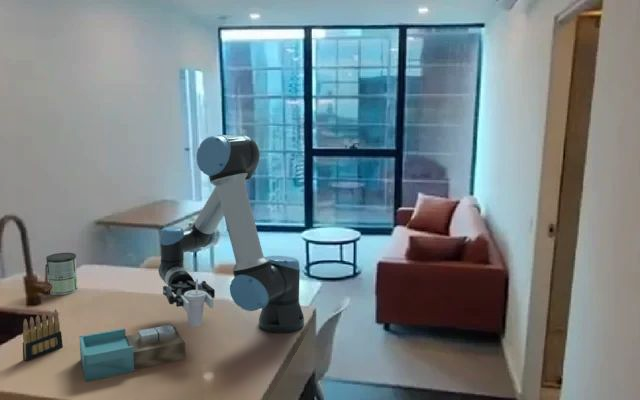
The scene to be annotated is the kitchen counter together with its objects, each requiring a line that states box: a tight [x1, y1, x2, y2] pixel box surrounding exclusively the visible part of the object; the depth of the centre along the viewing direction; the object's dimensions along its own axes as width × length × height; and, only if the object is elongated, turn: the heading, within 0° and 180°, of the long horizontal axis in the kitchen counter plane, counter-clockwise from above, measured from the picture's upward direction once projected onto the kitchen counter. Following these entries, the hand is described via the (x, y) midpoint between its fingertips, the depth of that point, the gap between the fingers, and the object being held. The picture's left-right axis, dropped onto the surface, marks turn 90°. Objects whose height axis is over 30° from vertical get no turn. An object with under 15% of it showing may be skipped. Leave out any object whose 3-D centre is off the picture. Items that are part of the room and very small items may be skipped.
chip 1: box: [138, 327, 158, 345], centre depth 143 cm, size 4×4×2 cm
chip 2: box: [155, 324, 176, 341], centre depth 146 cm, size 4×4×2 cm
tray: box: [78, 328, 135, 383], centre depth 138 cm, size 12×14×7 cm
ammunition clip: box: [22, 308, 64, 362], centre depth 144 cm, size 11×2×12 cm, turn 149°
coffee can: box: [45, 252, 79, 296], centre depth 196 cm, size 10×10×14 cm
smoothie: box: [184, 278, 206, 328], centre depth 149 cm, size 6×6×14 cm
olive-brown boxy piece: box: [126, 326, 186, 371], centre depth 145 cm, size 14×12×5 cm
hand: (200, 305), depth 144 cm, fingers closed on smoothie, 6 cm apart
